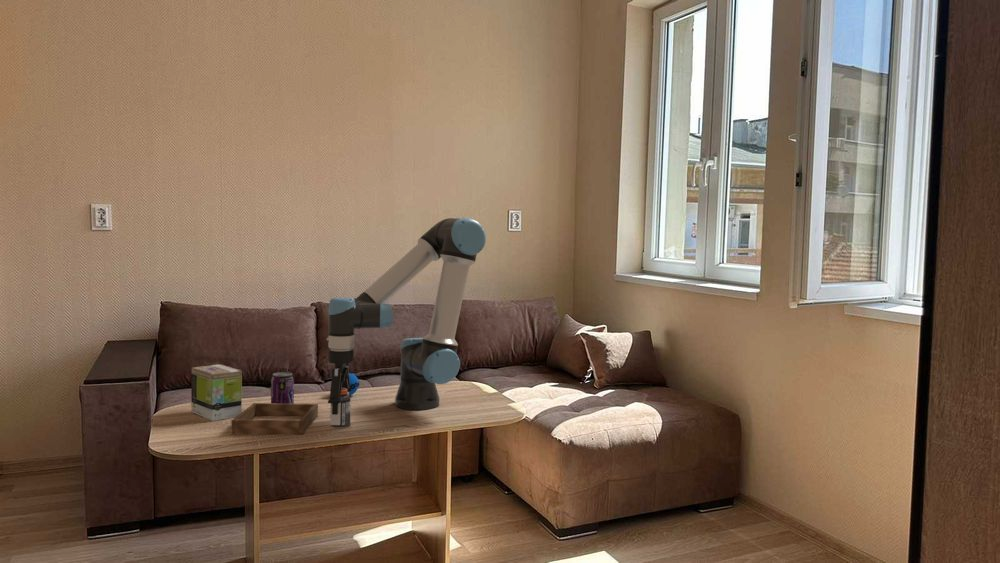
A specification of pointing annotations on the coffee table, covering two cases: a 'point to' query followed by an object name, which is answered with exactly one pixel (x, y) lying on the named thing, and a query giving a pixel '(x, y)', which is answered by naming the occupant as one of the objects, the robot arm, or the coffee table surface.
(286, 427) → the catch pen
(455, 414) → the coffee table surface
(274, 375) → the beverage can
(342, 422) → the pill bottle
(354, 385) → the ornament
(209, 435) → the coffee table surface
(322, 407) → the coffee table surface
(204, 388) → the tea box
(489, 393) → the coffee table surface
